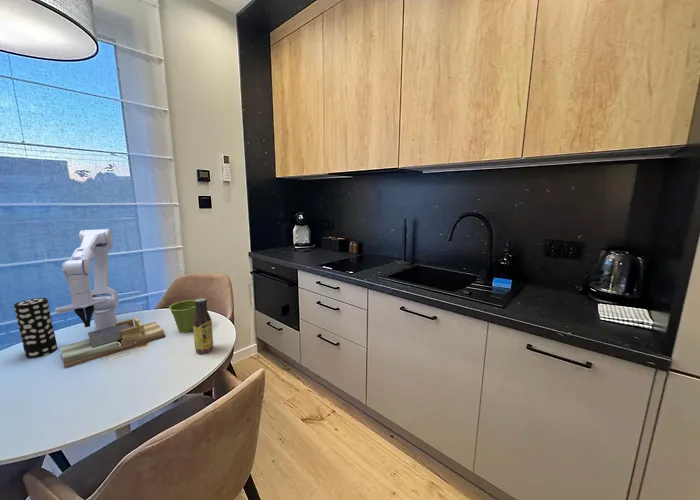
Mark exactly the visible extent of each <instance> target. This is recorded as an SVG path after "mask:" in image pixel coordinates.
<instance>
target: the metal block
mask: <svg viewBox="0 0 700 500" xmlns="http://www.w3.org/2000/svg"><path fill="white" fill-rule="evenodd" d="M128 328H130V326H129V325H128V324H127V323H124V324H120V325H116V326H112V327H108V328H104V329H100V330H97V331H95V330H93V331H90V332H87V336H88V337H87V338H88V339H89V341H90V343H91V346H92V347H95V346H98V345H102V344H105V343H109V342H112V341H116V340H119V339H122V335H121V330H124V329H128Z"/></svg>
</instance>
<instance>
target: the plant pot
mask: <svg viewBox="0 0 700 500" xmlns="http://www.w3.org/2000/svg"><path fill="white" fill-rule="evenodd" d="M195 300H196V299H190V300H189V299H188V300H182V301H181V300H180V301H178V302H175V303H172V304H171V305H170V306H169V307H168V310H169V311H171V314H172V316H173V318H174V321H175V325H176V327H177V329H178V331H179V333H189V332H191V331H194V330H193V317H194V315H195V313H196V308H195V303H194V301H195Z"/></svg>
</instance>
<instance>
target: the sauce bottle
mask: <svg viewBox="0 0 700 500" xmlns="http://www.w3.org/2000/svg"><path fill="white" fill-rule="evenodd" d="M194 300H195V301H194V303H195V308H196V313H195V315H194V317H193V330H192V331H193V339H194V349H195V352H196V353H197V354H206V353H210V352H211V351H212V350H213V349H214V335H213V325H212V323H213V322H212V321H213V320H212V317H211V315H210V313H209V311H208V306H207V301H208V299H206V298H205V297H204V298H203V297H202V298H201V297H200V298H196V299H194Z"/></svg>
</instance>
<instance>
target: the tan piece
mask: <svg viewBox="0 0 700 500" xmlns="http://www.w3.org/2000/svg"><path fill="white" fill-rule="evenodd" d="M124 323H127V324H128V325H129V326H130V328H128V329H124V330H121V335H122V339H119V340H116V341H112V342H109V343H105V344H102V345H98V346H95V347H92V346H91V343H90V341H89V338H87V339H85V340H81V341H76V342H73V343H70V344H66V345H63V346H62V345H61V346H60V351H61V356H62V360H63V365H64V369H68V368H71V367H74V366H77V365H81V364H83V363H88V362H91V361H92V360H93V361H94V360H97V359H100V358H103V357H106V356H109V355H112V354H116V353H119V352H122V351H125V350H127V349H128V350H129V349H132V348H135V347H138V346H141V344H142V343H145V344H147V343H151V342H154V341H157V340H161V339H163V338H166V334H165V331H164V328H162V327H161V326H160V324H158V323H157V322H156V321H153V322H149V323H146V324H143V323H142V322H141V321H140V319H139V318H137V317H134V318H130V319H127V320H122V321H117V323H116V325H120V324H124ZM118 342H120V343H121V346H119V344H118ZM135 342H136V343H135ZM142 345H143V344H142Z"/></svg>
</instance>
